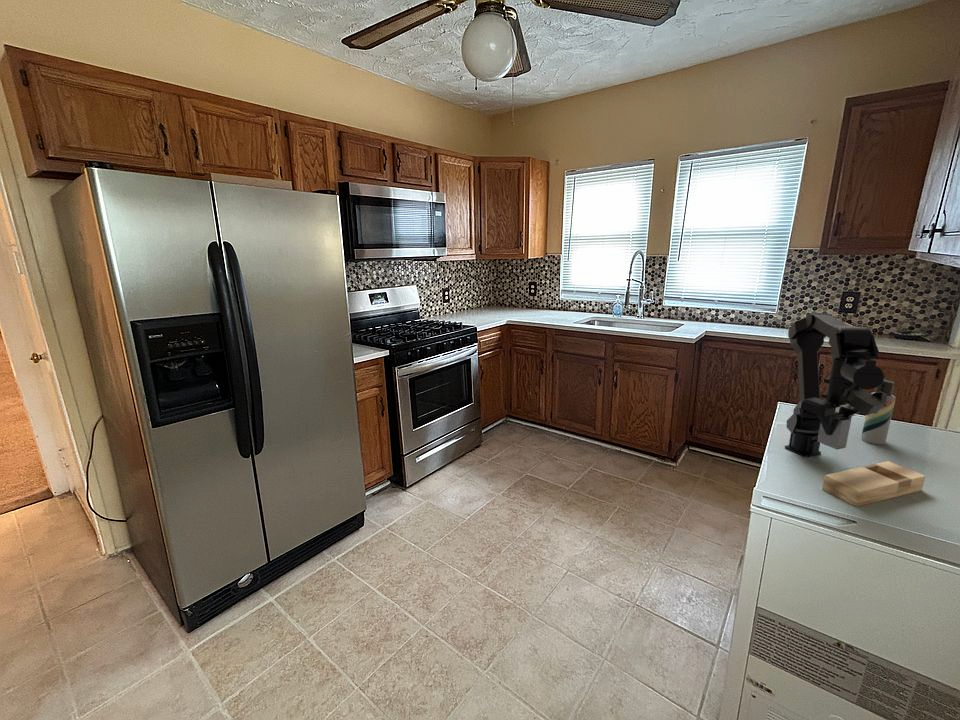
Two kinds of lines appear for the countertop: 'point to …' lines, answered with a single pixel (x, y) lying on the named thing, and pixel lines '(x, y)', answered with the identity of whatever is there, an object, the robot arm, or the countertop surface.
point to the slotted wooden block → (873, 483)
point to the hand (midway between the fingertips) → (833, 433)
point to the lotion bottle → (879, 417)
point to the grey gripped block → (836, 434)
